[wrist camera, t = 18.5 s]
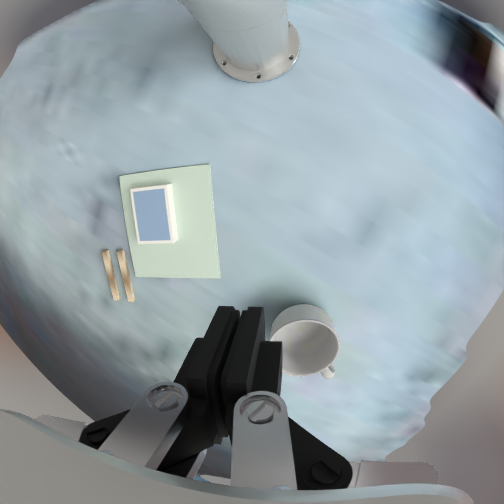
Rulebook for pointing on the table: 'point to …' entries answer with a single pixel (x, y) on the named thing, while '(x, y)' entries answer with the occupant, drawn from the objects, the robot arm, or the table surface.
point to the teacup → (306, 341)
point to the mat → (188, 225)
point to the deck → (154, 214)
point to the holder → (123, 271)
